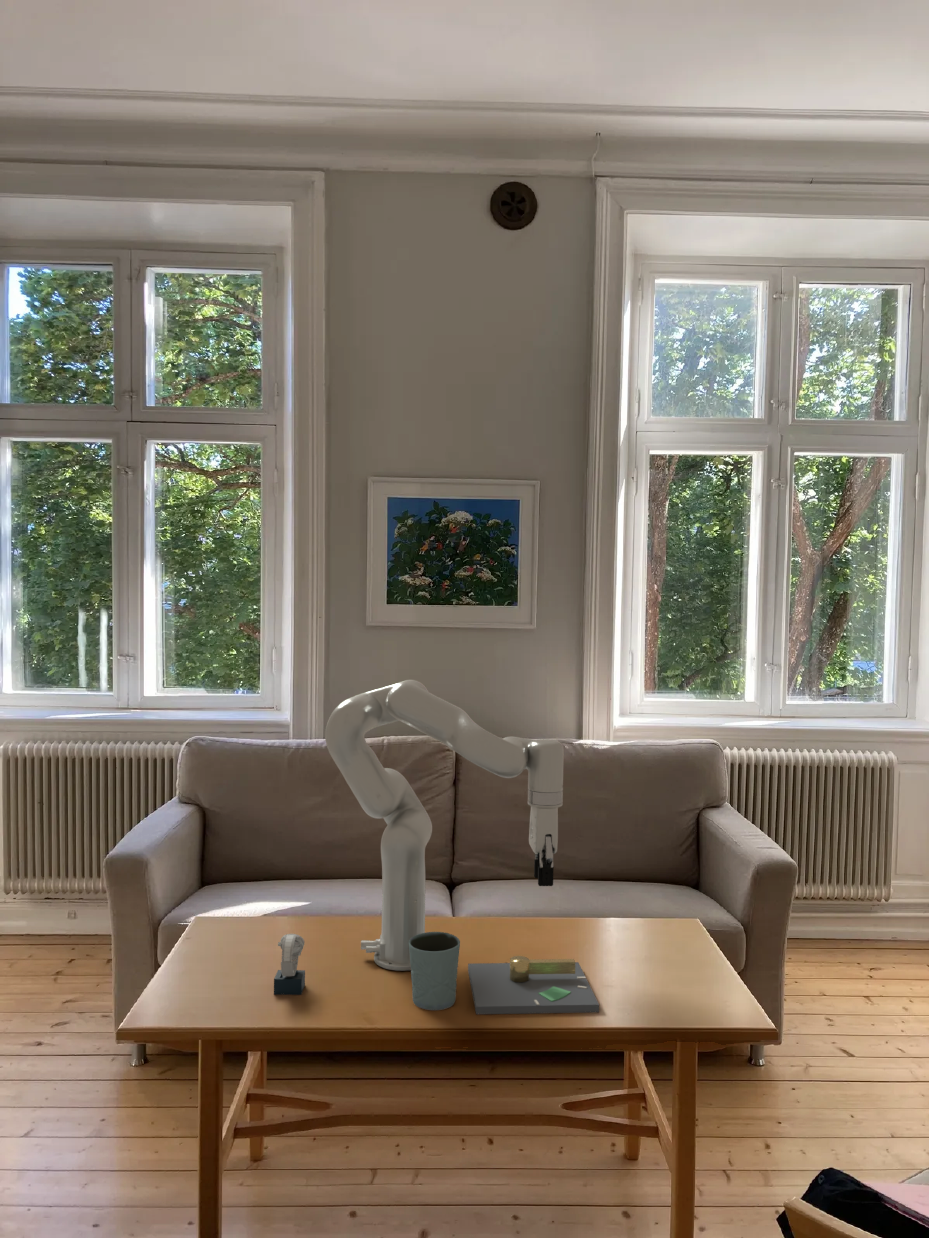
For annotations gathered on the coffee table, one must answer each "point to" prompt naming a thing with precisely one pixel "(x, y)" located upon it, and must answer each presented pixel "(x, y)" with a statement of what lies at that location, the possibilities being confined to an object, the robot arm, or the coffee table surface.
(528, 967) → the needle
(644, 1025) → the coffee table surface
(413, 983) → the teal cup
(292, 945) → the grey and black figurine
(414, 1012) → the coffee table surface
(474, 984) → the dial plate
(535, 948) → the coffee table surface
